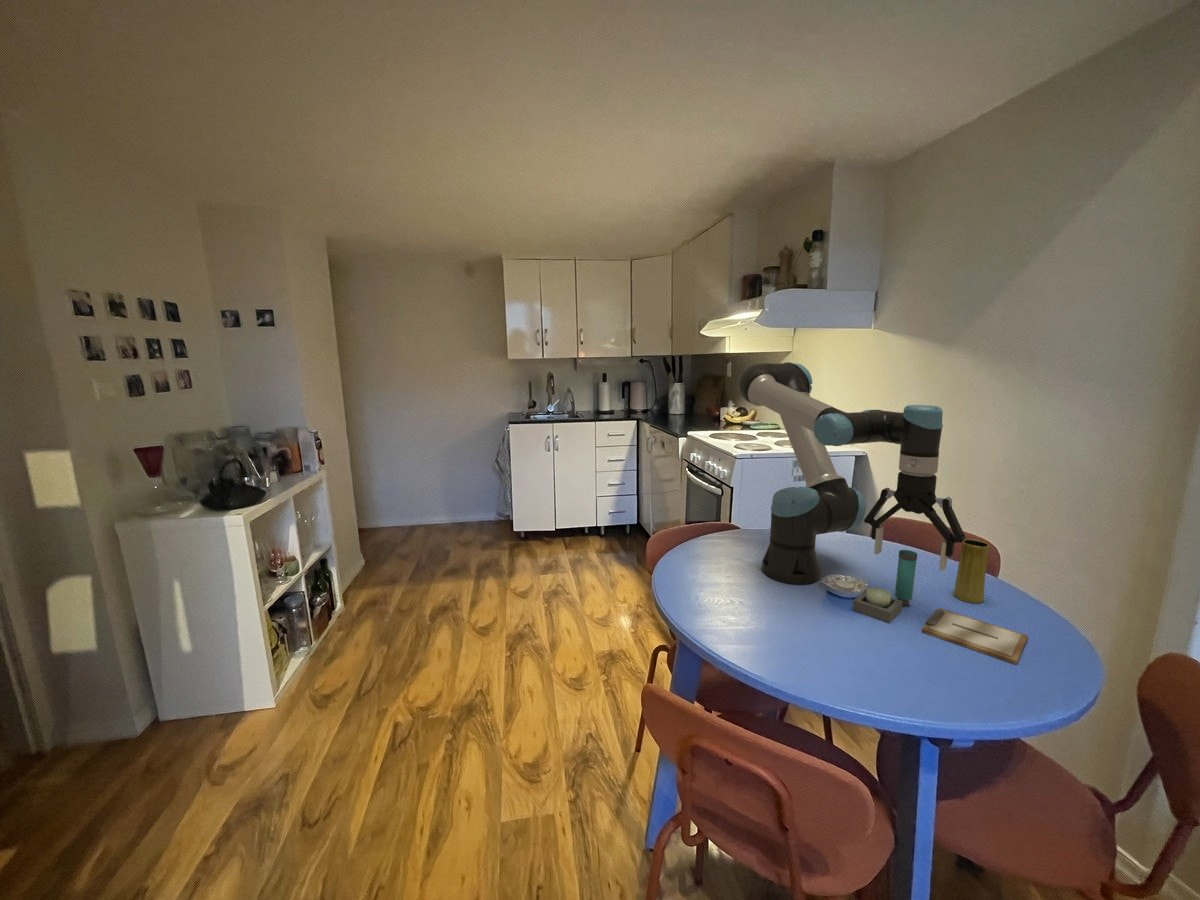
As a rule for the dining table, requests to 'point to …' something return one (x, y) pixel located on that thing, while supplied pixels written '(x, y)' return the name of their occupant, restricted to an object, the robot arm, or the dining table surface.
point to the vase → (971, 571)
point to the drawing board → (976, 635)
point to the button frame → (877, 608)
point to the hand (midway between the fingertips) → (908, 560)
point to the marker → (905, 576)
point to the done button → (878, 597)
